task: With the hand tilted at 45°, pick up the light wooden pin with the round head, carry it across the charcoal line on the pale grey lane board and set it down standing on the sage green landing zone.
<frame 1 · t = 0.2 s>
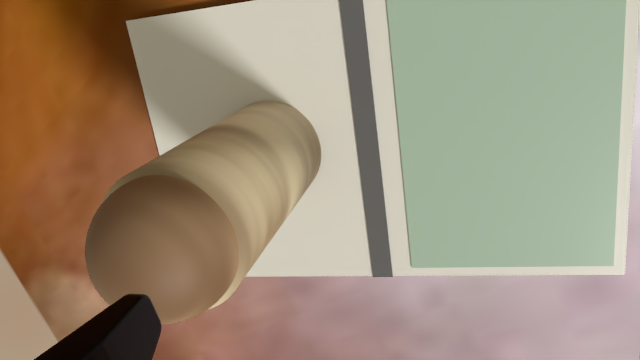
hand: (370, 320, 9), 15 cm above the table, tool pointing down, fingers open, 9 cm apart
wooden pin: (271, 151, 25), resting on lane board
lane board: (369, 141, 24), on the table
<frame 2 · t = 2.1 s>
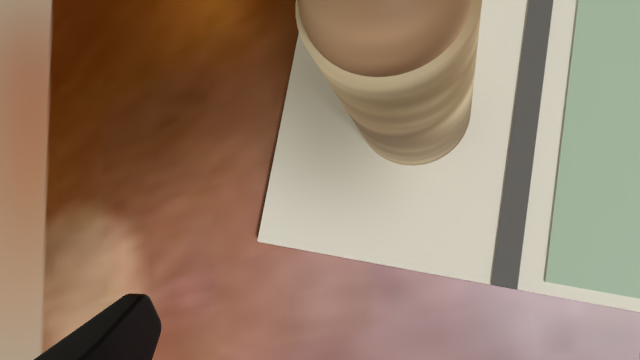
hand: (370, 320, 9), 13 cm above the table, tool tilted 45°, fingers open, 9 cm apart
wooden pin: (413, 111, 23), resting on lane board
lane board: (523, 125, 22), on the table
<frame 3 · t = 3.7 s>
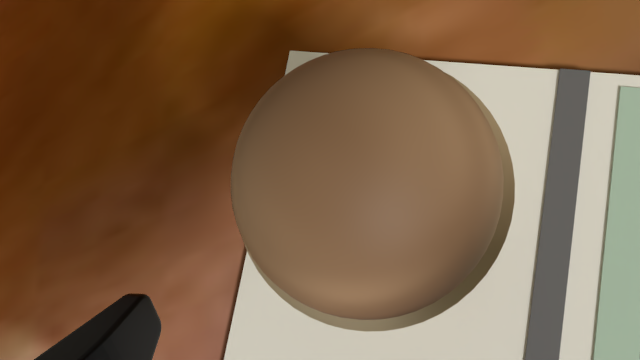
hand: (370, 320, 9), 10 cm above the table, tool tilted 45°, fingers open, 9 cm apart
wooden pin: (411, 239, 19), resting on lane board
lane board: (550, 264, 18), on the table
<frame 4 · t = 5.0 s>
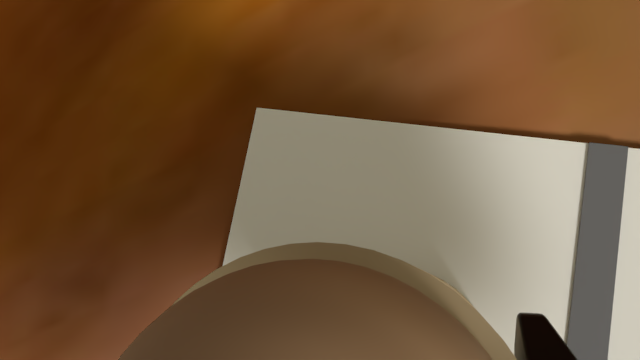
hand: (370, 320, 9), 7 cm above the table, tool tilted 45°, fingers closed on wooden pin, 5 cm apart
wooden pin: (402, 355, 15), resting on lane board, touching gripper
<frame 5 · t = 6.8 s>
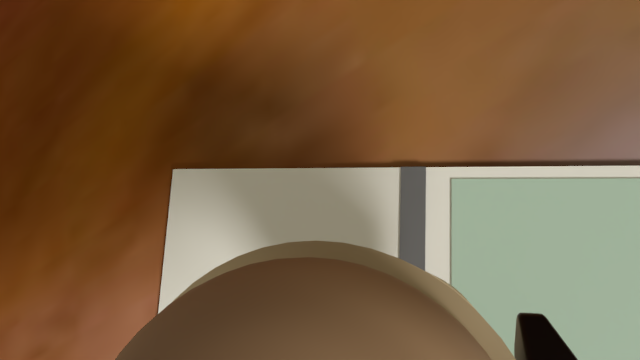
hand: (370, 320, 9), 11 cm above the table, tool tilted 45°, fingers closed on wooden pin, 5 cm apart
wooden pin: (401, 354, 15), point 5 cm above the table, touching gripper
lane board: (411, 344, 20), on the table
when the fingers open (8 cm above the table, at t = 8.5 s): wooden pin drops 1 cm, resting on lane board.
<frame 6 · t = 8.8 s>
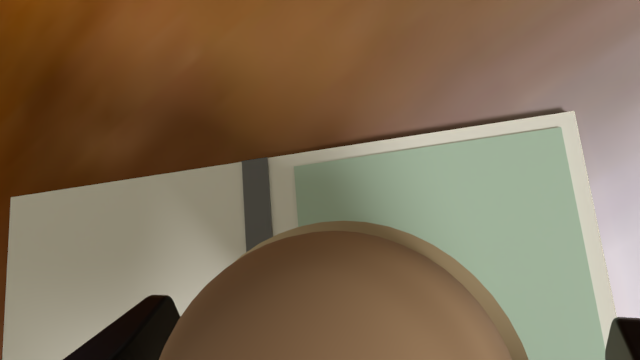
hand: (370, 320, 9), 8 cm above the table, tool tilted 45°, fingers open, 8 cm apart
wooden pin: (406, 352, 16), point 1 cm above the table, touching lane board
lane board: (270, 355, 18), on the table
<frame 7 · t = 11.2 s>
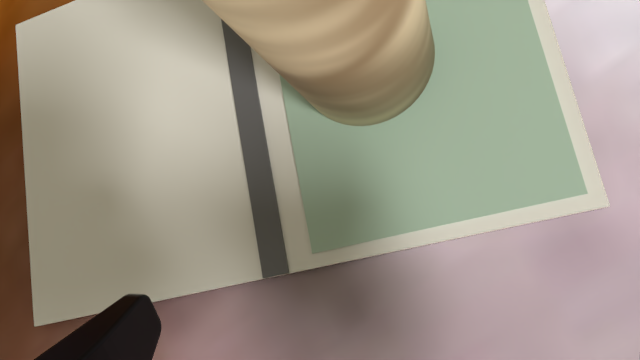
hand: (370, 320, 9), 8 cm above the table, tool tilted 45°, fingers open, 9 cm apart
wooden pin: (364, 58, 18), point 1 cm above the table, touching lane board
lane board: (250, 98, 20), on the table
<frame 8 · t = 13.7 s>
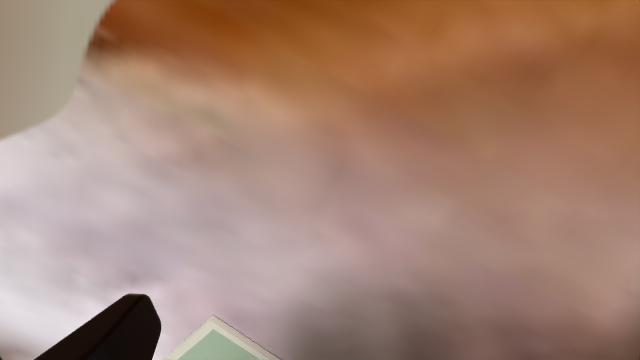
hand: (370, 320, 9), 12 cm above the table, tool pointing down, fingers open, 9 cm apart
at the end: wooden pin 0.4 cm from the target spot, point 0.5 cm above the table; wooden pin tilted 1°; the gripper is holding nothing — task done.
